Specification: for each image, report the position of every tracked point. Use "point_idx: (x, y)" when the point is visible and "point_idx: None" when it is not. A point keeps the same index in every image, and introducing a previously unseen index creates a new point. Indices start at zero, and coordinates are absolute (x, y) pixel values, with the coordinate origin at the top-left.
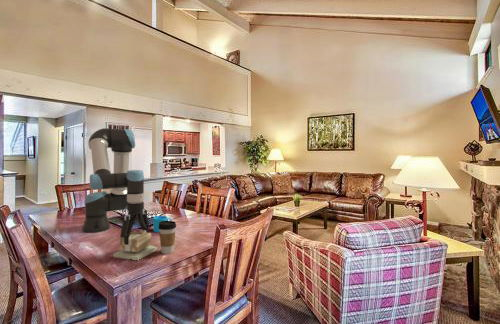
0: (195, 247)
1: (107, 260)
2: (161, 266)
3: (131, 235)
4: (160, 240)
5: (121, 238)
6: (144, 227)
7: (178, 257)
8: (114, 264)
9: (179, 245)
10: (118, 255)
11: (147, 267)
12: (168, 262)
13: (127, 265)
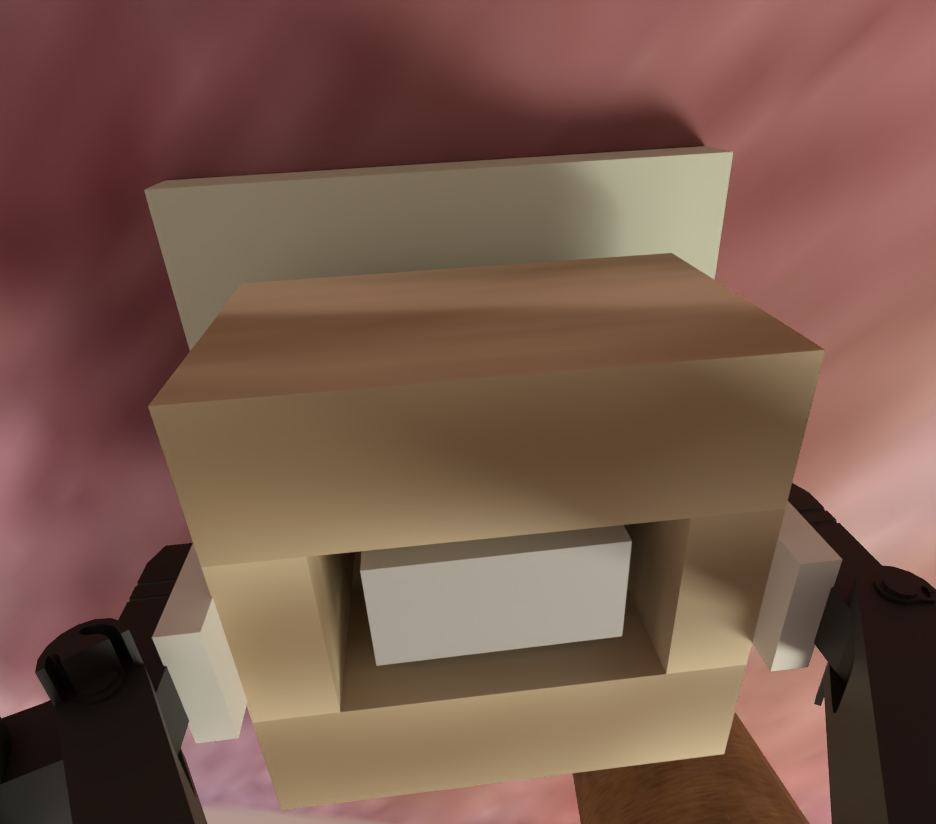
0: (785, 786)
1: (9, 216)
2: (300, 813)
3: (463, 532)
4: (607, 810)
5: (176, 453)
6: (830, 744)
7: (524, 805)
8: (13, 438)
9: (824, 661)
10: (184, 310)
11: (214, 753)
12: (396, 807)
13: (113, 587)
